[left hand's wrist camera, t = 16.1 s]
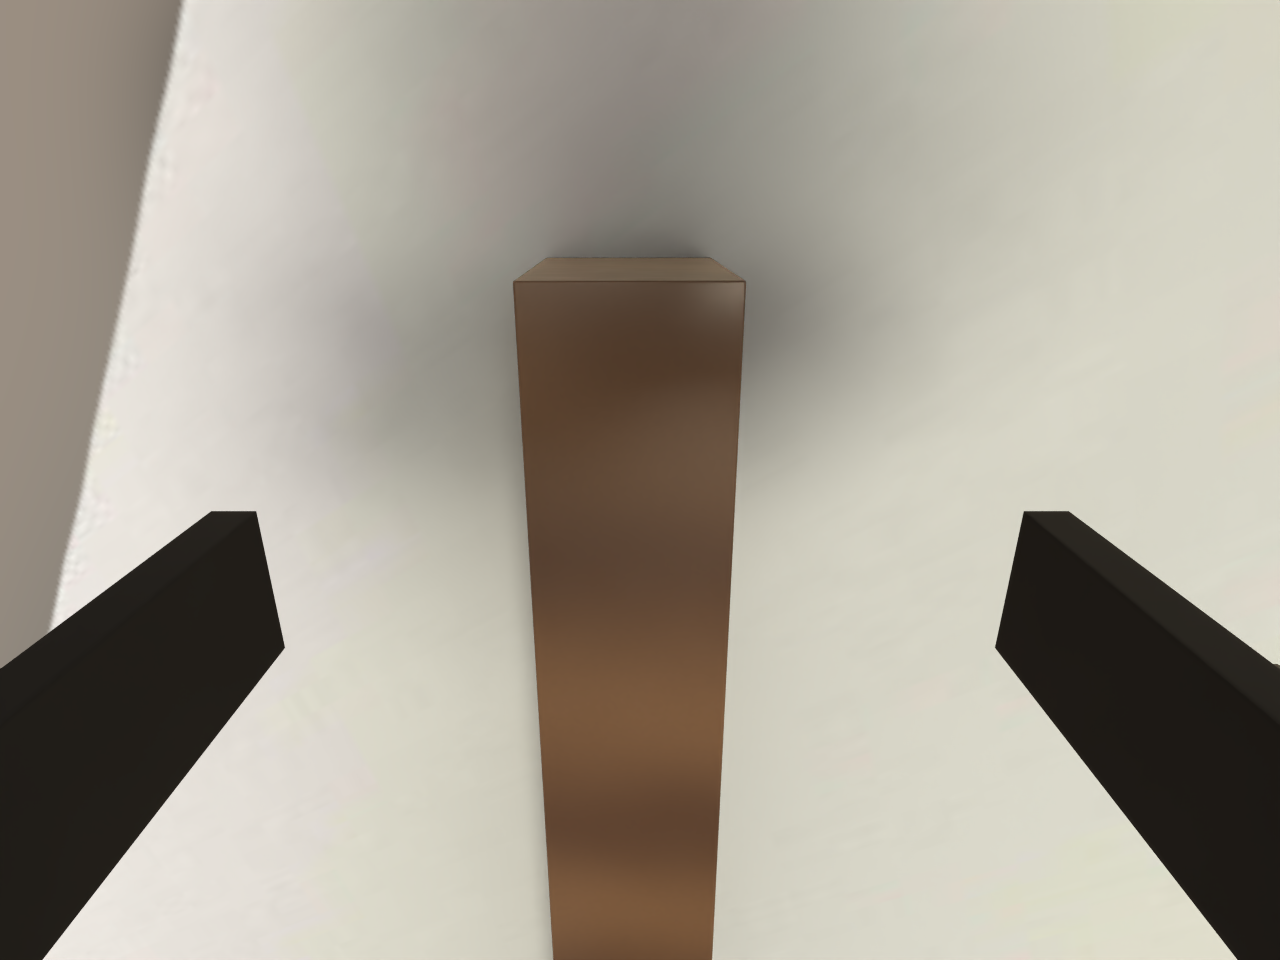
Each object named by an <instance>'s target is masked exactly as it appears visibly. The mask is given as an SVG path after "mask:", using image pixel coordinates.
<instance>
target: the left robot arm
mask: <svg viewBox="0 0 1280 960" xmlns="http://www.w3.org/2000/svg"><path fill="white" fill-rule="evenodd" d="M284 648H285V646H284V641H283V637H282V632H281V627H280V622H279V618H278V613H277V608H276V603H275V599H274V594H273V589H272V584H271V580H270V575H269V570H268V565H267V561H266V556H265V551H264V546H263V542H262V537H261V532H260V527H259V523H258V518H257V513H256V511H211V512H210V513H208V514H207V515H206V516H204V517H203V518H202V519H200V520H199V521H198V522H196V523H195V524H194V525H192V526H191V527H190V528H188V529H187V530H186V531H184V532H183V533H182V534H180V535H179V536H178V537H176V538H175V539H174V540H172V541H171V542H170V543H168V544H167V545H166V546H164V547H163V548H162V549H160V550H159V551H158V552H156V553H155V554H154V555H152V556H151V557H150V558H148V559H147V560H146V561H144V562H143V563H142V564H140V565H139V566H138V567H136V568H135V569H134V570H132V571H131V572H130V573H128V574H127V575H126V576H124V577H123V578H121V579H120V580H119V581H117V582H116V583H115V584H113V585H112V586H111V587H109V588H108V589H107V590H105V591H104V592H103V593H101V594H100V595H99V596H97V597H96V598H95V599H93V600H92V601H91V602H89V603H88V604H87V605H85V606H84V607H83V608H81V609H80V610H79V611H77V612H76V613H75V614H73V615H72V616H71V617H69V618H68V619H67V620H65V621H64V622H63V623H61V624H60V625H59V626H57V627H56V628H55V629H53V630H52V631H51V632H49V633H48V634H47V635H45V636H44V637H43V638H41V639H40V640H39V641H37V642H36V643H35V644H33V645H32V646H31V647H29V648H28V649H27V650H25V651H24V652H23V653H21V654H20V655H19V656H17V657H16V658H14V659H13V660H12V661H11V662H9V663H8V664H6V665H5V666H4V667H2V668H0V960H43V958H44V957H45V956H46V954H47V953H48V952H49V951H50V949H51V948H52V947H53V945H54V944H55V943H56V942H57V940H58V939H59V938H60V936H61V935H62V934H63V933H64V931H65V930H66V929H67V927H68V926H69V925H70V924H71V922H72V921H73V920H74V918H75V917H76V916H77V915H78V913H79V912H80V911H81V909H82V908H83V907H84V906H85V904H86V903H87V902H88V900H89V899H90V898H91V897H92V895H93V894H94V893H95V891H96V890H97V889H98V888H99V886H100V885H101V884H102V882H103V881H104V880H105V879H106V877H107V876H108V875H109V873H110V872H111V871H112V870H113V868H114V867H115V866H116V864H117V863H118V862H119V861H120V859H121V858H122V857H123V855H124V854H125V853H126V852H127V850H128V849H129V848H130V846H131V845H132V844H133V843H134V841H135V840H136V839H137V837H138V836H139V835H140V834H141V832H142V831H143V830H144V828H145V827H146V826H147V825H148V823H149V822H150V821H151V819H152V818H153V817H154V816H155V814H156V813H157V812H158V810H159V809H160V808H161V807H162V805H163V804H164V803H165V801H166V800H167V799H168V797H169V796H170V795H171V794H172V792H173V791H174V790H175V788H176V787H177V786H178V785H179V783H180V782H181V781H182V779H183V778H184V777H185V776H186V774H187V773H188V772H189V770H190V769H191V768H192V767H193V765H194V764H195V763H196V761H197V760H198V759H199V758H200V756H201V755H202V754H203V752H204V751H205V750H206V749H207V747H208V746H209V745H210V743H211V742H212V741H213V740H214V738H215V737H216V736H217V734H218V733H219V732H220V731H221V729H222V728H223V727H224V725H225V724H226V723H227V722H228V720H229V719H230V718H231V716H232V715H233V714H234V713H235V711H236V710H237V709H238V707H239V706H240V705H241V704H242V702H243V701H244V700H245V698H246V697H247V696H248V695H249V693H250V692H251V691H252V689H253V688H254V687H255V686H256V684H257V683H258V682H259V680H260V679H261V678H262V677H263V675H264V674H265V673H266V671H267V670H268V669H269V668H270V666H271V665H272V664H273V662H274V661H275V660H276V659H277V657H278V656H279V655H280V653H281V652H282V651H283V650H284ZM995 648H996V650H997V651H998V652H999V653H1000V655H1001V656H1002V657H1003V659H1004V660H1005V661H1006V662H1007V664H1008V665H1009V666H1010V668H1011V669H1012V670H1013V671H1014V673H1015V674H1016V675H1017V677H1018V678H1019V679H1020V680H1021V682H1022V683H1023V684H1024V686H1025V687H1026V688H1027V689H1028V691H1029V692H1030V693H1031V695H1032V696H1033V697H1034V698H1035V700H1036V701H1037V702H1038V704H1039V705H1040V706H1041V707H1042V709H1043V710H1044V711H1045V713H1046V714H1047V715H1048V716H1049V718H1050V719H1051V720H1052V722H1053V723H1054V724H1055V725H1056V727H1057V728H1058V729H1059V731H1060V732H1061V733H1062V734H1063V736H1064V737H1065V738H1066V740H1067V741H1068V742H1069V743H1070V745H1071V746H1072V747H1073V749H1074V750H1075V751H1076V752H1077V754H1078V755H1079V756H1080V758H1081V759H1082V760H1083V761H1084V763H1085V764H1086V765H1087V767H1088V768H1089V769H1090V770H1091V772H1092V773H1093V774H1094V776H1095V777H1096V778H1097V779H1098V781H1099V782H1100V783H1101V785H1102V786H1103V787H1104V788H1105V790H1106V791H1107V792H1108V794H1109V795H1110V796H1111V797H1112V799H1113V800H1114V801H1115V803H1116V804H1117V805H1118V807H1119V808H1120V809H1121V810H1122V812H1123V813H1124V814H1125V816H1126V817H1127V818H1128V819H1129V821H1130V822H1131V823H1132V825H1133V826H1134V827H1135V828H1136V830H1137V831H1138V832H1139V834H1140V835H1141V836H1142V837H1143V839H1144V840H1145V841H1146V843H1147V844H1148V845H1149V846H1150V848H1151V849H1152V850H1153V852H1154V853H1155V854H1156V855H1157V857H1158V858H1159V859H1160V861H1161V862H1162V863H1163V864H1164V866H1165V867H1166V868H1167V870H1168V871H1169V872H1170V873H1171V875H1172V876H1173V877H1174V879H1175V880H1176V881H1177V882H1178V884H1179V885H1180V886H1181V888H1182V889H1183V890H1184V891H1185V893H1186V894H1187V895H1188V897H1189V898H1190V899H1191V900H1192V902H1193V903H1194V904H1195V906H1196V907H1197V908H1198V909H1199V911H1200V912H1201V913H1202V915H1203V916H1204V917H1205V918H1206V920H1207V921H1208V922H1209V924H1210V925H1211V926H1212V927H1213V929H1214V930H1215V931H1216V933H1217V934H1218V935H1219V936H1220V938H1221V939H1222V940H1223V942H1224V943H1225V944H1226V945H1227V947H1228V948H1229V949H1230V951H1231V952H1232V953H1233V954H1234V956H1235V957H1236V958H1237V960H1280V665H1278V664H1272V663H1271V662H1270V661H1268V660H1267V659H1266V658H1264V657H1263V656H1261V655H1260V654H1259V653H1257V652H1256V651H1255V650H1253V649H1252V648H1251V647H1249V646H1248V645H1247V644H1245V643H1244V642H1243V641H1241V640H1240V639H1239V638H1237V637H1236V636H1235V635H1233V634H1232V633H1231V632H1229V631H1228V630H1227V629H1225V628H1224V627H1223V626H1221V625H1220V624H1219V623H1217V622H1216V621H1215V620H1213V619H1212V618H1211V617H1209V616H1208V615H1207V614H1205V613H1204V612H1203V611H1201V610H1200V609H1199V608H1197V607H1196V606H1195V605H1193V604H1192V603H1191V602H1189V601H1188V600H1187V599H1185V598H1184V597H1183V596H1181V595H1180V594H1179V593H1177V592H1176V591H1175V590H1173V589H1172V588H1171V587H1169V586H1168V585H1167V584H1165V583H1164V582H1163V581H1161V580H1160V579H1159V578H1157V577H1156V576H1154V575H1153V574H1152V573H1150V572H1149V571H1148V570H1146V569H1145V568H1144V567H1142V566H1141V565H1140V564H1138V563H1137V562H1136V561H1134V560H1133V559H1132V558H1130V557H1129V556H1128V555H1126V554H1125V553H1124V552H1122V551H1121V550H1120V549H1118V548H1117V547H1116V546H1114V545H1113V544H1112V543H1110V542H1109V541H1108V540H1106V539H1105V538H1104V537H1102V536H1101V535H1100V534H1098V533H1097V532H1096V531H1094V530H1093V529H1092V528H1090V527H1089V526H1088V525H1086V524H1085V523H1084V522H1082V521H1081V520H1080V519H1078V518H1077V517H1076V516H1074V515H1073V514H1072V513H1070V512H1069V511H1024V513H1023V518H1022V523H1021V527H1020V532H1019V537H1018V542H1017V546H1016V551H1015V556H1014V561H1013V565H1012V570H1011V575H1010V580H1009V584H1008V589H1007V594H1006V599H1005V603H1004V608H1003V613H1002V618H1001V622H1000V627H999V632H998V637H997V641H996V646H995Z"/></svg>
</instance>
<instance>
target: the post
mask: <svg viewBox="0 0 1280 960" xmlns="http://www.w3.org/2000/svg"><path fill="white" fill-rule="evenodd" d="M513 291H514V308H515V324H516V341H517V358H518V375H519V392H520V408H521V425H522V442H523V459H524V475H525V492H526V509H527V526H528V543H529V559H530V576H531V593H532V610H533V626H534V643H535V660H536V677H537V693H538V710H539V727H540V744H541V761H542V777H543V794H544V811H545V828H546V844H547V861H548V878H549V895H550V912H551V928H552V945H553V960H712V949H713V930H714V910H715V890H716V870H717V850H718V830H719V810H720V790H721V770H722V750H723V731H724V711H725V691H726V671H727V651H728V631H729V611H730V591H731V571H732V551H733V532H734V512H735V492H736V472H737V452H738V432H739V412H740V392H741V372H742V352H743V333H744V313H745V293H746V281H745V280H743V279H742V278H740V277H739V276H737V275H736V274H734V273H733V272H731V271H730V270H728V269H727V268H725V267H724V266H722V265H721V264H719V263H718V262H716V261H715V260H713V259H712V258H546V259H545V260H543V261H542V262H540V263H539V264H537V265H536V266H535V267H533V268H532V269H530V270H529V271H528V272H526V273H525V274H523V275H522V276H520V277H519V278H518V279H516V280H515V281H513Z"/></svg>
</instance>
